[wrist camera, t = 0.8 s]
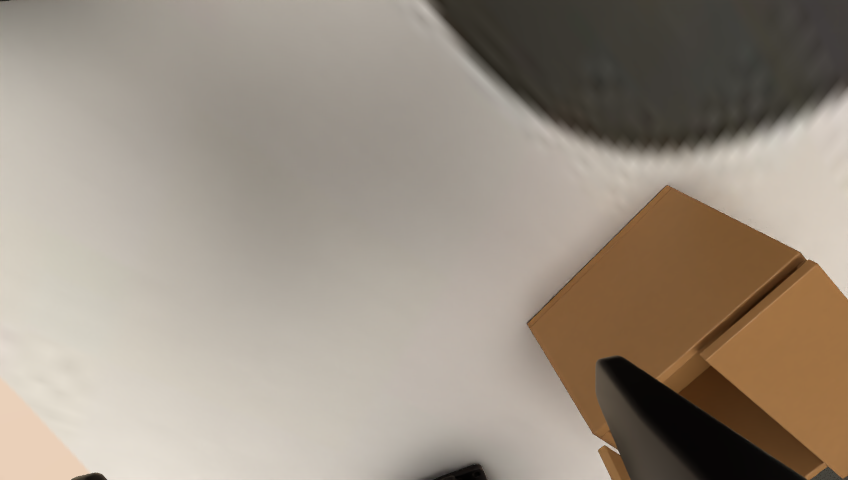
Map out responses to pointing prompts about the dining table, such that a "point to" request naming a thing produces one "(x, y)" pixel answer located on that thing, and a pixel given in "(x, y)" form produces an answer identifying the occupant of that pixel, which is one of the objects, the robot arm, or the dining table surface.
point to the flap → (613, 464)
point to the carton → (711, 329)
